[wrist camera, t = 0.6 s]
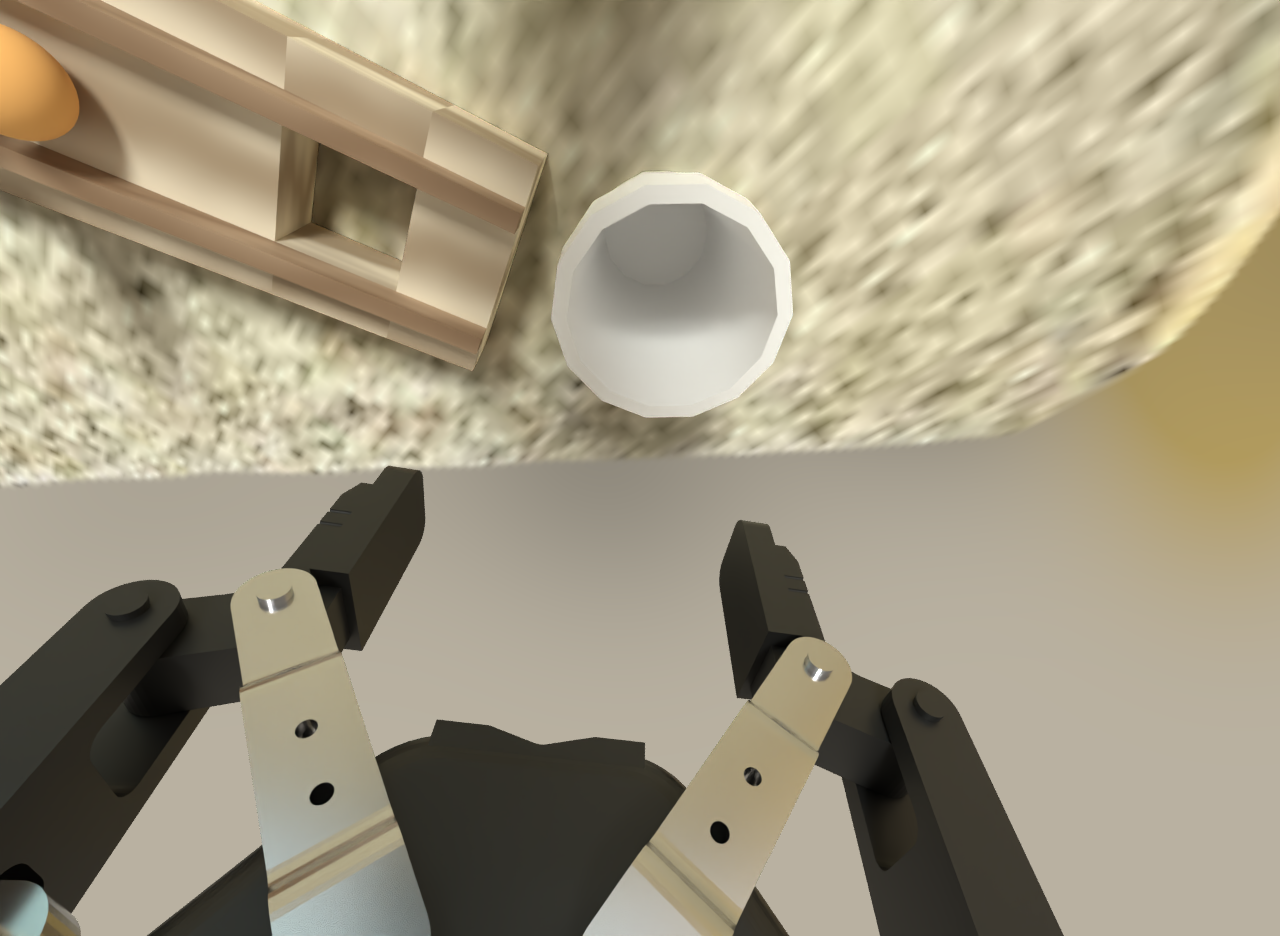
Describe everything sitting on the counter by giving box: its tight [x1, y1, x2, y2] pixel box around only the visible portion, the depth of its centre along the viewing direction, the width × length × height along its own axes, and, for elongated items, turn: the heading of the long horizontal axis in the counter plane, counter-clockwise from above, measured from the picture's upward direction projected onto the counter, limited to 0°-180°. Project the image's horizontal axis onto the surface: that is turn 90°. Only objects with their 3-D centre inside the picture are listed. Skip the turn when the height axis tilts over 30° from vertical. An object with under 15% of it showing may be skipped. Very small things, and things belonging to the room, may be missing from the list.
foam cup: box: [551, 171, 793, 418], centre depth 26 cm, size 10×9×13 cm
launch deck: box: [0, 0, 548, 371], centre depth 25 cm, size 12×30×6 cm, turn 64°
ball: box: [0, 24, 79, 141], centre depth 21 cm, size 4×4×4 cm
